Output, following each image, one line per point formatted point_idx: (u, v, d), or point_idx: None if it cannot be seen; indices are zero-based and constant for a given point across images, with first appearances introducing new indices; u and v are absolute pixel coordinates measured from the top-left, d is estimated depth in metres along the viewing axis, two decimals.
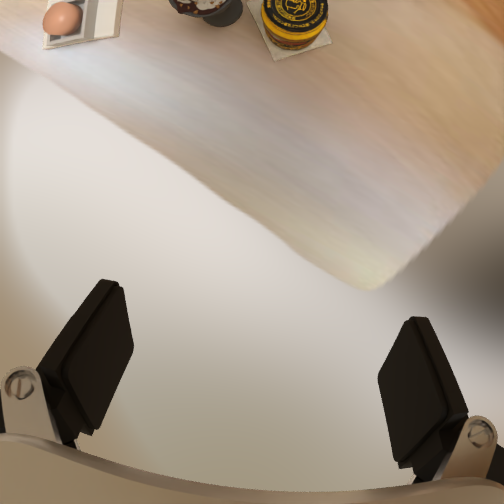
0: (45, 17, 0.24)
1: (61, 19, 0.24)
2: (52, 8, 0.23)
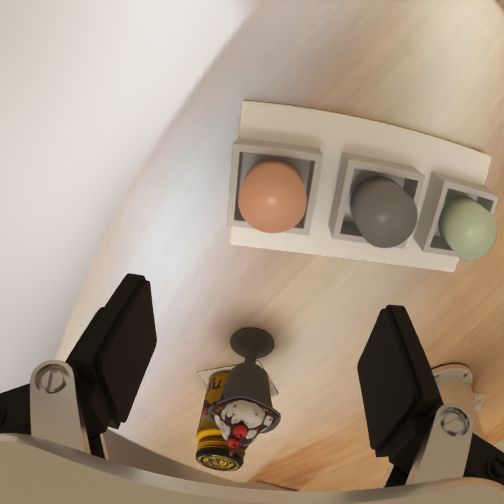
0: (284, 176, 0.20)
1: (264, 215, 0.21)
2: (297, 193, 0.20)
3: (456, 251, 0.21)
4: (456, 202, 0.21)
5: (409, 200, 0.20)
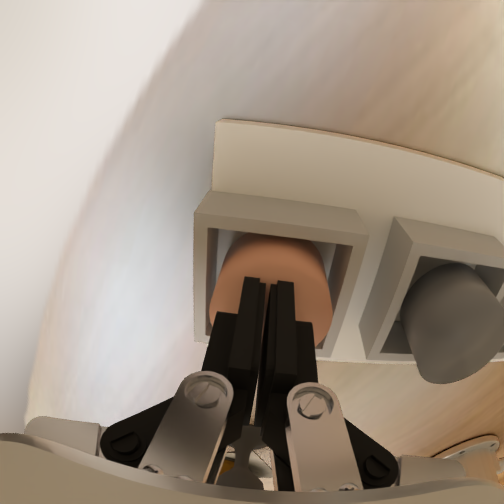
0: (294, 277, 0.10)
1: None
2: (317, 306, 0.11)
3: None
4: None
5: (503, 317, 0.09)
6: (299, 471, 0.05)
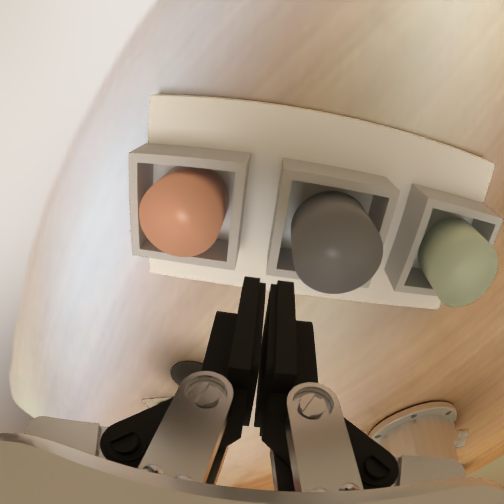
0: (189, 186, 0.15)
1: (170, 235, 0.17)
2: (208, 208, 0.16)
3: (439, 296, 0.16)
4: (444, 227, 0.16)
5: (370, 229, 0.14)
6: (299, 471, 0.05)
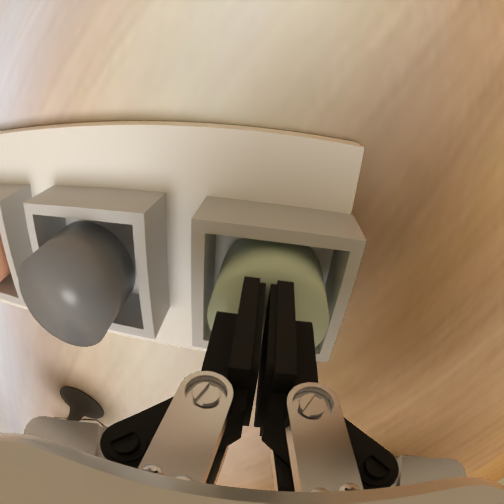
0: None
1: None
2: None
3: None
4: (238, 248, 0.13)
5: (73, 274, 0.10)
6: (299, 471, 0.05)
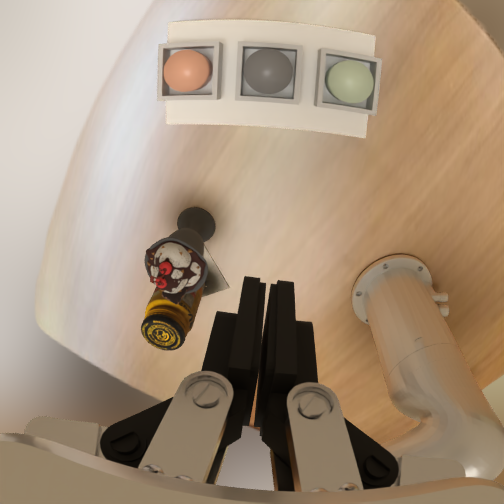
0: (190, 52, 0.26)
1: (180, 79, 0.27)
2: (200, 62, 0.26)
3: (336, 94, 0.27)
4: (334, 64, 0.28)
5: (281, 55, 0.24)
6: (299, 471, 0.05)
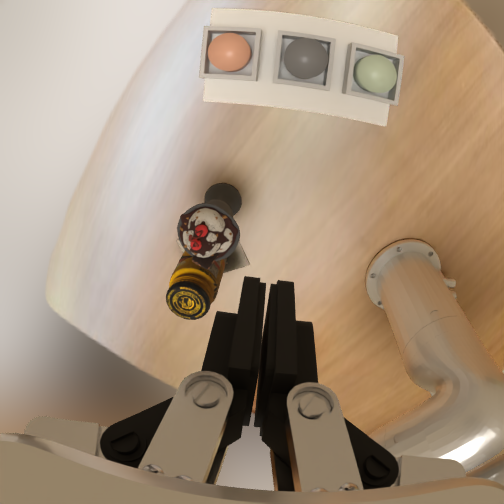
0: (235, 36, 0.28)
1: (223, 59, 0.29)
2: (243, 45, 0.28)
3: (364, 83, 0.29)
4: (362, 58, 0.30)
5: (319, 45, 0.26)
6: (299, 471, 0.05)
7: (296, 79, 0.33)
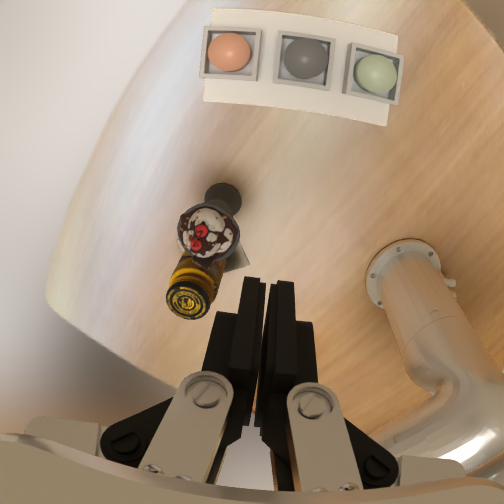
0: (235, 36, 0.28)
1: (223, 59, 0.29)
2: (243, 45, 0.28)
3: (364, 83, 0.29)
4: (362, 58, 0.30)
5: (319, 45, 0.26)
6: (299, 471, 0.05)
7: (296, 79, 0.33)
